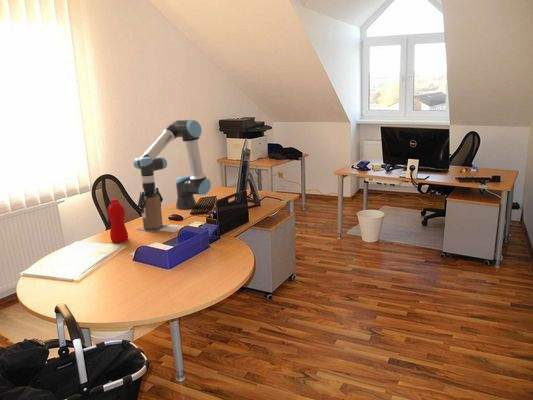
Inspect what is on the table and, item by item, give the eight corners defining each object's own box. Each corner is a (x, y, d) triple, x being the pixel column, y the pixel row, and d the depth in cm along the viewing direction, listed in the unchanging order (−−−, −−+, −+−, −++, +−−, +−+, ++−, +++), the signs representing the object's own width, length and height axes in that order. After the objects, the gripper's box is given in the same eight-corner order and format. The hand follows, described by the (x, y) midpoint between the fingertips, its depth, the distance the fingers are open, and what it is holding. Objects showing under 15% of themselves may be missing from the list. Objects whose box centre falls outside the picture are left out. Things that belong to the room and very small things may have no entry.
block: (159, 229, 279) (155, 198, 274) (143, 230, 279) (139, 199, 274) (163, 224, 288) (159, 194, 284) (147, 225, 289) (144, 195, 284)
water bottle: (132, 240, 261) (127, 198, 255) (113, 244, 256) (107, 202, 250) (128, 236, 269) (123, 196, 263) (109, 240, 264) (104, 199, 258)
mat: (171, 225, 288) (171, 224, 288) (186, 227, 282) (186, 226, 282) (159, 230, 278) (159, 229, 278) (173, 232, 272) (173, 231, 272)
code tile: (153, 223, 293) (153, 223, 293) (169, 225, 286) (169, 225, 286) (137, 229, 281) (137, 229, 281) (154, 232, 275) (153, 231, 274)
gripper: (157, 178, 289) (161, 209, 294) (129, 185, 268) (133, 219, 273) (166, 178, 286) (169, 210, 290) (138, 186, 264) (142, 220, 269)
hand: (151, 215), depth 282 cm, fingers open, 13 cm apart
